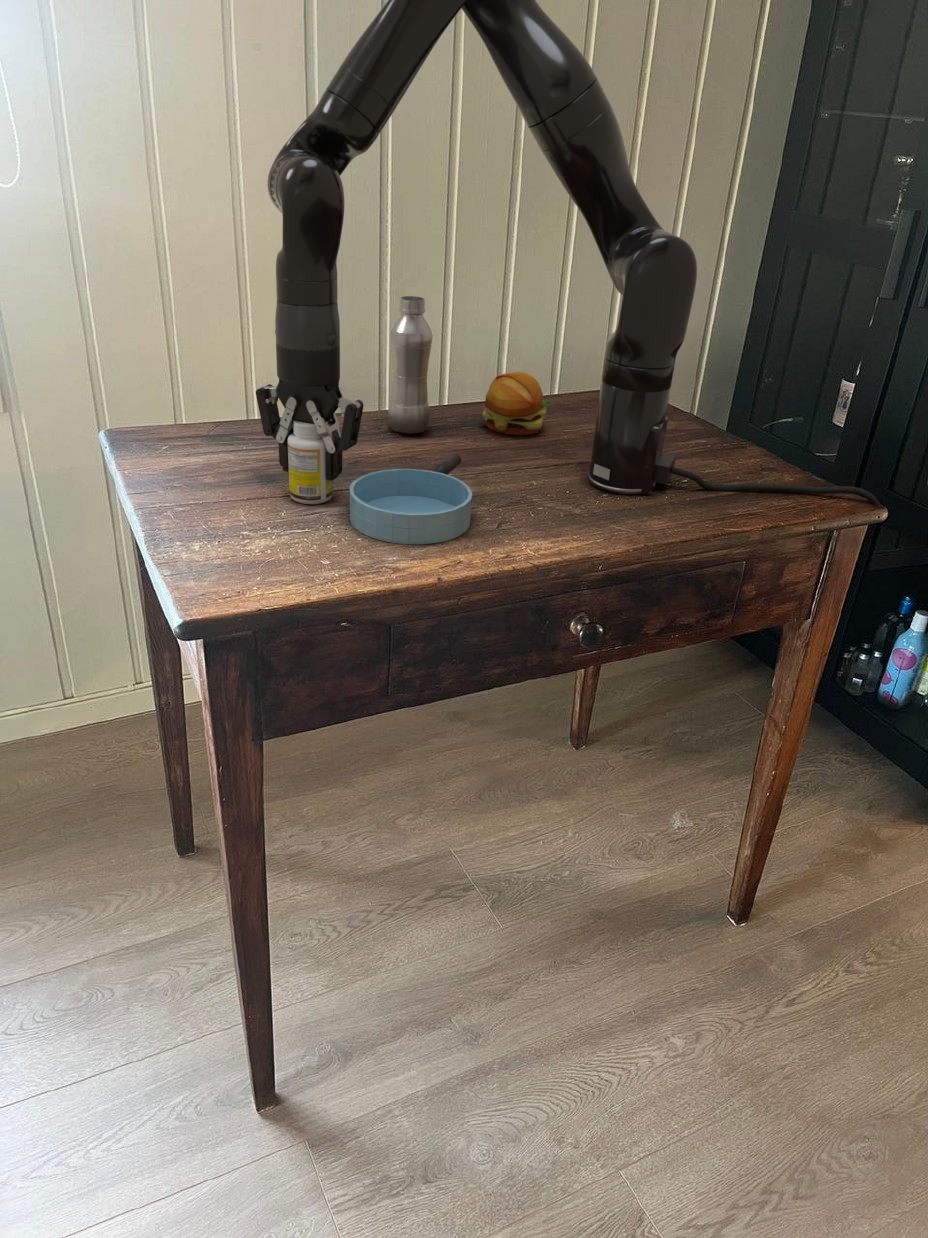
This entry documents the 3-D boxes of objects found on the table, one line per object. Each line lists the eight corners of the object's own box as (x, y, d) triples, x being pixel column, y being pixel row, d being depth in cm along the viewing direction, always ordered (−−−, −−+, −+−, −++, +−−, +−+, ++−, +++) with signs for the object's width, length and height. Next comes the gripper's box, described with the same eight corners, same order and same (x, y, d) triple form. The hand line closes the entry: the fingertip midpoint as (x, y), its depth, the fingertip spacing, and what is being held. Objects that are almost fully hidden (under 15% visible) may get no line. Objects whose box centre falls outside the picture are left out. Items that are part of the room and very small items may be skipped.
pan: (486, 509, 122) (489, 482, 120) (443, 554, 110) (444, 524, 108) (381, 488, 126) (381, 461, 125) (327, 528, 114) (327, 499, 112)
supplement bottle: (320, 486, 125) (318, 411, 120) (340, 501, 122) (340, 423, 117) (281, 494, 122) (278, 417, 117) (301, 509, 119) (299, 430, 114)
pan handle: (438, 484, 123) (439, 473, 122) (427, 482, 123) (428, 471, 122) (462, 464, 130) (463, 453, 129) (451, 462, 130) (452, 451, 129)
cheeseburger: (550, 420, 156) (555, 365, 149) (538, 455, 149) (543, 399, 142) (490, 412, 158) (492, 357, 151) (475, 446, 150) (477, 390, 143)
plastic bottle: (396, 439, 144) (399, 303, 134) (381, 426, 149) (383, 294, 139) (435, 436, 146) (441, 302, 136) (419, 423, 151) (424, 293, 142)
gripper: (376, 341, 113) (374, 475, 122) (271, 325, 117) (276, 455, 126) (347, 355, 107) (347, 494, 115) (238, 337, 111) (245, 473, 119)
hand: (310, 473), depth 120 cm, fingers closed on supplement bottle, 5 cm apart
